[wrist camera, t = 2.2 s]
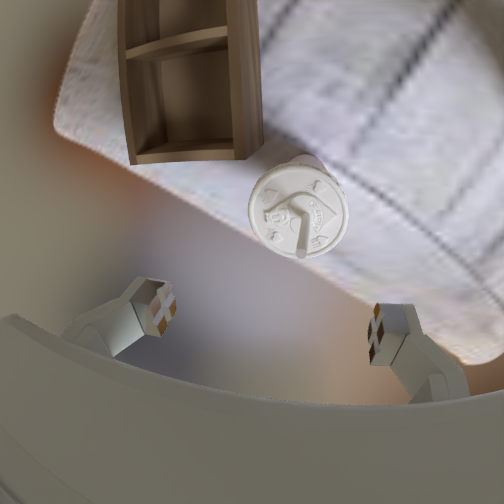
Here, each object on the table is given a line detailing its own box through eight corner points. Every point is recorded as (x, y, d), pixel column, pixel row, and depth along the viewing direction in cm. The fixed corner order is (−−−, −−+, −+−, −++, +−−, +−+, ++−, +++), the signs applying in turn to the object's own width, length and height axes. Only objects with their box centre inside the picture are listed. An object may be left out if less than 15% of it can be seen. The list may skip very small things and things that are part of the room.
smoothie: (341, 204, 25) (353, 304, 14) (276, 206, 27) (237, 302, 15) (337, 138, 22) (357, 187, 10) (267, 142, 24) (211, 195, 12)
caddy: (250, -89, 9) (231, -118, 3) (263, 144, 24) (245, 160, 19) (158, -66, 11) (126, -84, 6) (164, 148, 26) (127, 165, 21)
